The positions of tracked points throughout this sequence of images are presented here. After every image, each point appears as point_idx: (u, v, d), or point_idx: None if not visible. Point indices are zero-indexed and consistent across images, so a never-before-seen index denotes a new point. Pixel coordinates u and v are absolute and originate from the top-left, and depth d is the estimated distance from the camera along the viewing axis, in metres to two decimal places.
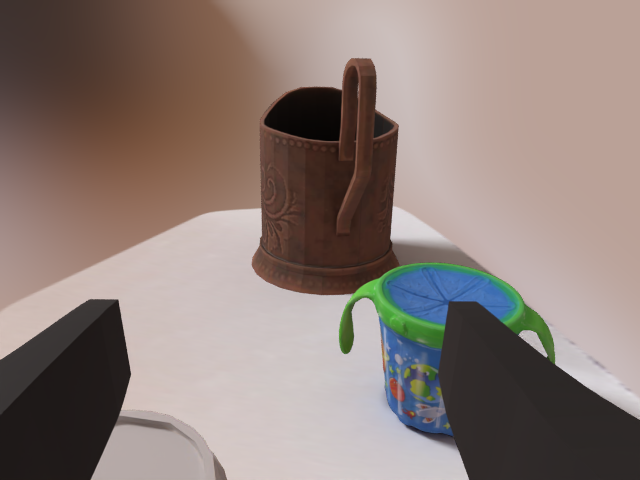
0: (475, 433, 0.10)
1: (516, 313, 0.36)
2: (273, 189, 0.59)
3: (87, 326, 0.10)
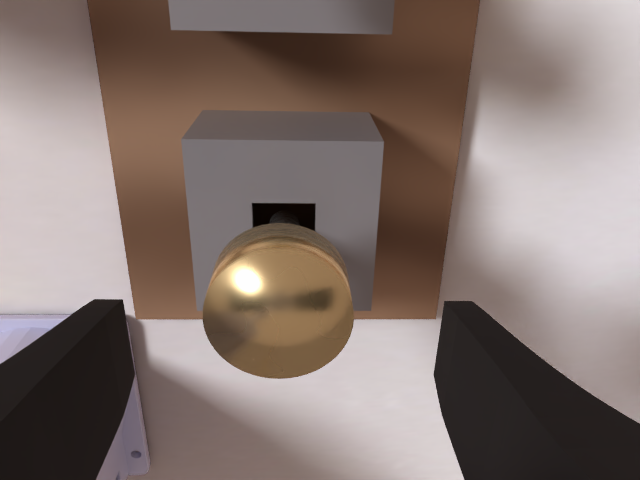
0: (470, 433, 0.10)
1: None
2: None
3: (92, 326, 0.10)
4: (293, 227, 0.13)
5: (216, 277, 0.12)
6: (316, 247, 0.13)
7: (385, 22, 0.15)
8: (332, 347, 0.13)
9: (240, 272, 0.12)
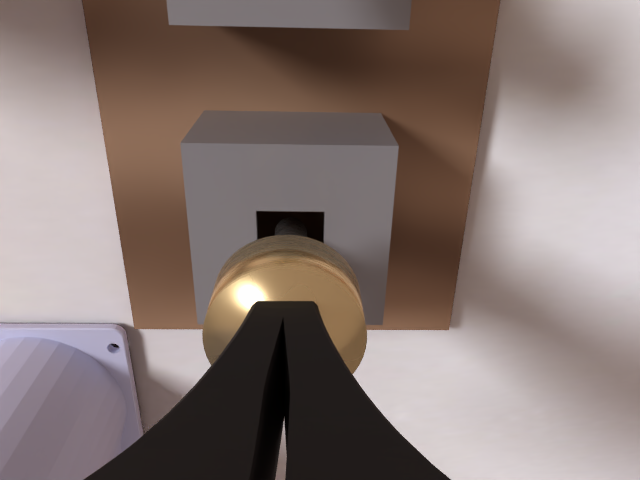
0: (287, 434, 0.10)
1: None
2: None
3: (278, 326, 0.10)
4: (301, 240, 0.12)
5: (217, 295, 0.11)
6: (326, 262, 0.12)
7: (402, 16, 0.13)
8: None
9: (244, 290, 0.11)
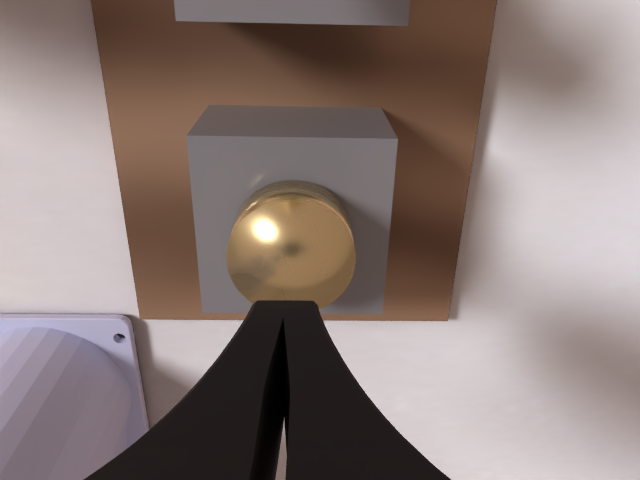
0: (288, 434, 0.10)
1: None
2: None
3: (278, 326, 0.10)
4: (304, 183, 0.15)
5: (238, 223, 0.14)
6: (323, 199, 0.15)
7: (401, 13, 0.14)
8: (337, 287, 0.15)
9: (259, 219, 0.14)
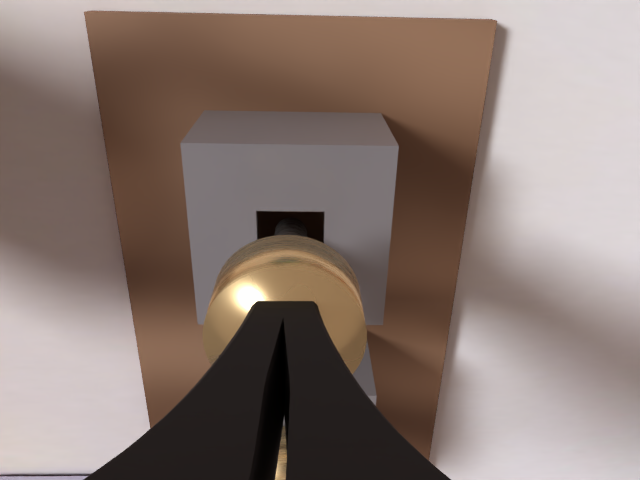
0: (288, 434, 0.10)
1: None
2: None
3: (278, 326, 0.10)
4: None
5: None
6: None
7: (377, 317, 0.17)
8: None
9: None
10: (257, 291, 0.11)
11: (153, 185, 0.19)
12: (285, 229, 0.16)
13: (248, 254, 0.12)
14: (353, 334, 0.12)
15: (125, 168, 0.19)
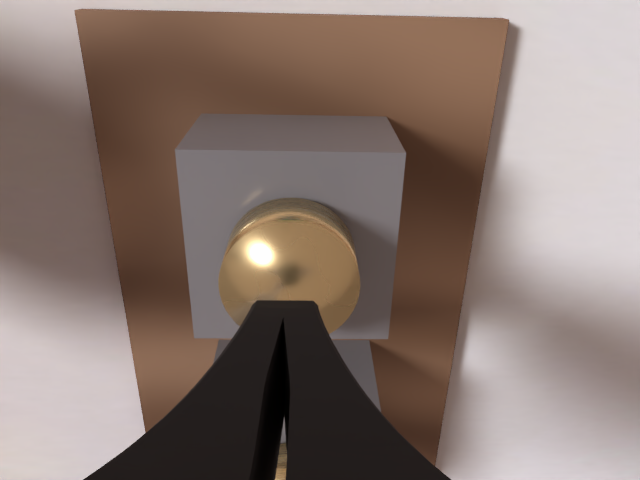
0: (287, 434, 0.10)
1: None
2: None
3: (279, 326, 0.10)
4: None
5: None
6: None
7: (382, 331, 0.17)
8: None
9: None
10: (265, 243, 0.13)
11: (148, 191, 0.19)
12: None
13: (258, 213, 0.14)
14: (348, 282, 0.14)
15: (119, 173, 0.18)
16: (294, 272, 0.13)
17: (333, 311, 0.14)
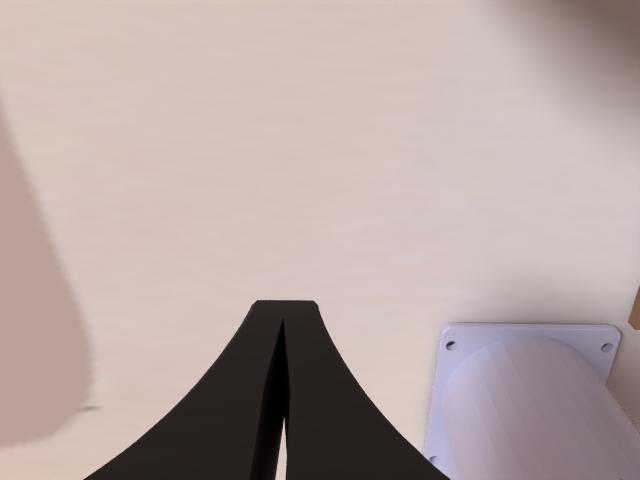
0: (287, 434, 0.10)
1: None
2: None
3: (278, 326, 0.10)
4: None
5: None
6: None
7: None
8: None
9: None
10: None
11: None
12: None
13: None
14: None
15: None
16: None
17: None
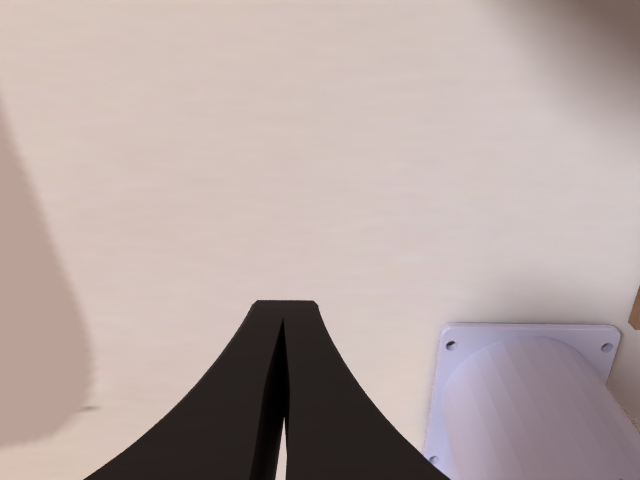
0: (288, 434, 0.10)
1: None
2: None
3: (279, 326, 0.10)
4: None
5: None
6: None
7: None
8: None
9: None
10: None
11: None
12: None
13: None
14: None
15: None
16: None
17: None
